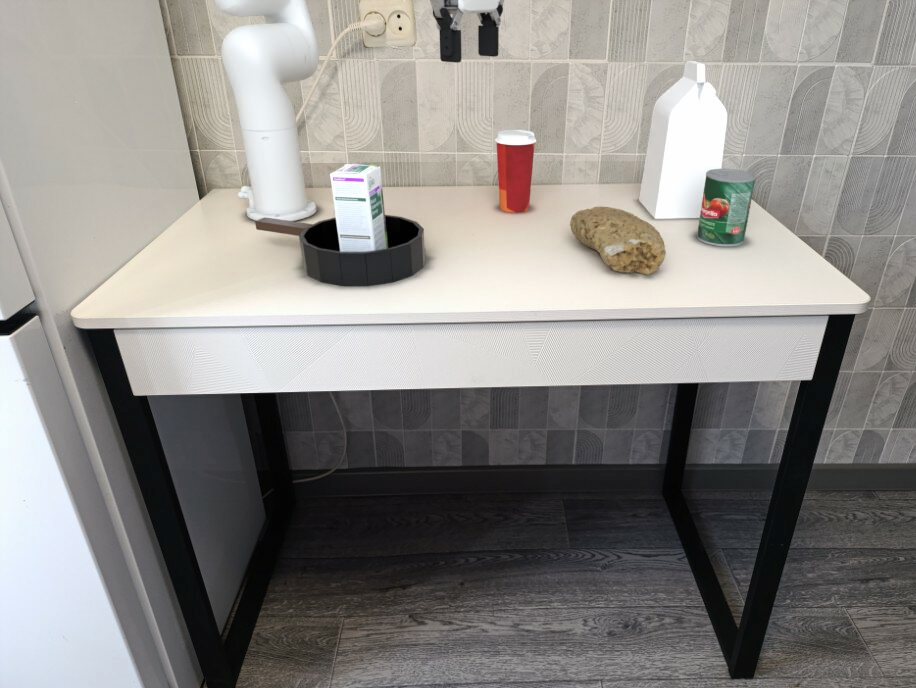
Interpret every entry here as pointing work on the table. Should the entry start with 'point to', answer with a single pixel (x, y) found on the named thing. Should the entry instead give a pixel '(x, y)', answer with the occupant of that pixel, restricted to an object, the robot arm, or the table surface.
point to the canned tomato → (725, 207)
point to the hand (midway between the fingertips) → (470, 58)
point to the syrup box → (359, 208)
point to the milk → (683, 146)
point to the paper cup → (515, 169)
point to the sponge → (620, 239)
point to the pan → (355, 266)
